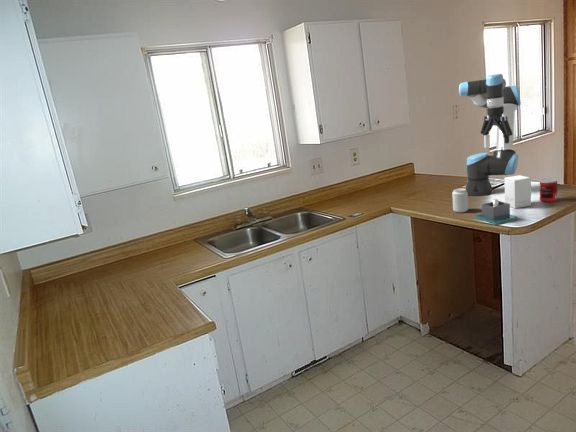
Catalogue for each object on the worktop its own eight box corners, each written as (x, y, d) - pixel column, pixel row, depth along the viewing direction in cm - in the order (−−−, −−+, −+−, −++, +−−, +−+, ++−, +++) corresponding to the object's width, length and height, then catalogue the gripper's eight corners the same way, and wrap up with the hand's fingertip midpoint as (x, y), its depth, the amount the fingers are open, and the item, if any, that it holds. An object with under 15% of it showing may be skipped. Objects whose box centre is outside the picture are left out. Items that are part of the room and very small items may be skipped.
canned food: (552, 197, 225) (552, 177, 222) (560, 201, 217) (560, 180, 215) (536, 199, 226) (536, 179, 223) (544, 203, 218) (544, 182, 216)
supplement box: (531, 206, 217) (531, 177, 213) (514, 209, 217) (514, 180, 213) (520, 202, 226) (520, 174, 222) (504, 205, 226) (503, 177, 222)
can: (450, 210, 230) (449, 189, 227) (464, 208, 231) (463, 186, 228) (457, 213, 223) (456, 191, 220) (470, 211, 224) (470, 189, 220)
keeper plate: (475, 218, 212) (475, 199, 210) (496, 213, 215) (496, 195, 212) (495, 224, 199) (494, 205, 197) (517, 219, 201) (517, 200, 199)
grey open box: (482, 216, 209) (481, 204, 208) (498, 212, 211) (497, 200, 210) (493, 219, 202) (493, 207, 200) (509, 215, 204) (509, 203, 202)
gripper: (472, 107, 225) (474, 147, 231) (506, 107, 201) (507, 152, 207) (484, 105, 226) (486, 145, 232) (520, 105, 203) (520, 149, 209)
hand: (496, 148), depth 220 cm, fingers open, 13 cm apart
